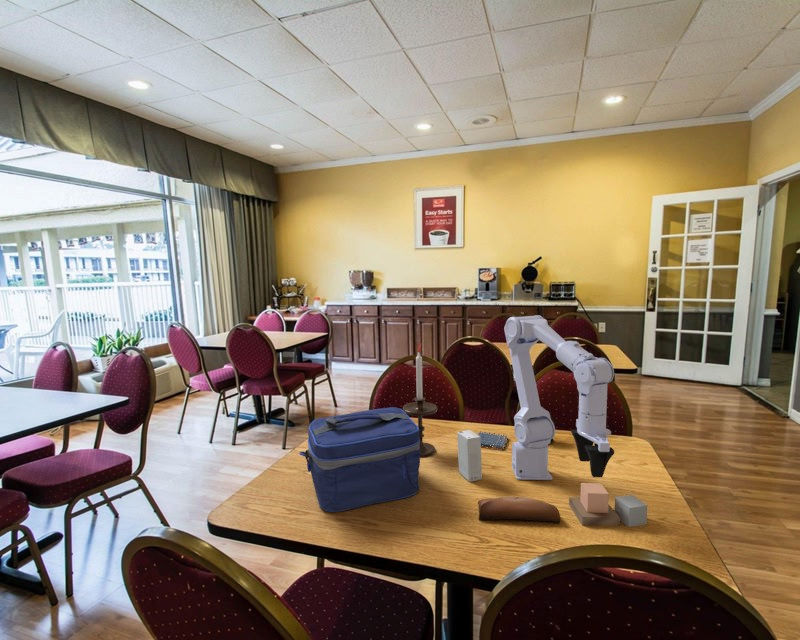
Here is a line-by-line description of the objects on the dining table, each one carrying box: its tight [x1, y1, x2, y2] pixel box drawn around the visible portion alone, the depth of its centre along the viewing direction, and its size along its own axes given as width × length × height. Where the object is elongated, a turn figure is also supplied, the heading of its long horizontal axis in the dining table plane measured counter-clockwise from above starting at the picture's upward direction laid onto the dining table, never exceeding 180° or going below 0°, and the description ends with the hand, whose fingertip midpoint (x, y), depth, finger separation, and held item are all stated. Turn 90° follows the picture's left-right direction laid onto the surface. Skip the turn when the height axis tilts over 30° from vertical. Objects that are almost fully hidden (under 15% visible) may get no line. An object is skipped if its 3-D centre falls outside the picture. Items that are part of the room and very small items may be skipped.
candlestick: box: [402, 343, 438, 458], centre depth 128 cm, size 11×11×35 cm
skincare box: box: [457, 429, 483, 483], centre depth 112 cm, size 6×4×12 cm
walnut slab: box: [568, 496, 621, 527], centre depth 93 cm, size 8×8×2 cm
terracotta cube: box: [579, 482, 610, 513], centre depth 93 cm, size 4×4×4 cm
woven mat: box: [477, 430, 509, 451], centre depth 135 cm, size 10×11×2 cm
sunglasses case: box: [477, 496, 561, 523], centre depth 95 cm, size 18×7×7 cm, turn 84°
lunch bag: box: [298, 406, 422, 513], centre depth 108 cm, size 31×21×20 cm
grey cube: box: [613, 494, 648, 528], centre depth 91 cm, size 4×4×4 cm
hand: (590, 468), depth 94 cm, fingers open, 7 cm apart
